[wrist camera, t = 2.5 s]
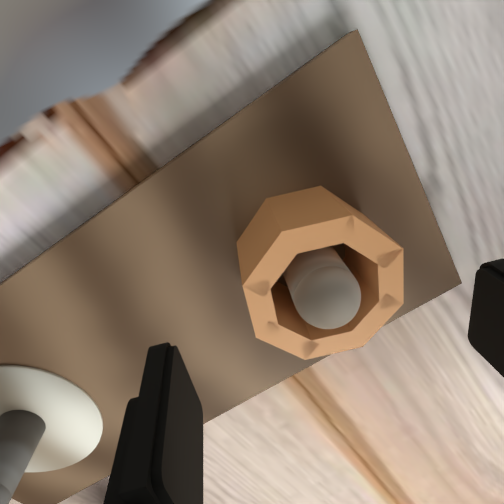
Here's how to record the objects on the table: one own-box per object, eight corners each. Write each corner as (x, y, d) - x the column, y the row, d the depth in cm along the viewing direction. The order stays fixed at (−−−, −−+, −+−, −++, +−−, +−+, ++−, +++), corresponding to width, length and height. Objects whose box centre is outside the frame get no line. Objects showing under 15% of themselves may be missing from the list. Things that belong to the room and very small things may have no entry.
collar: (359, 176, 15) (403, 203, 12) (366, 288, 18) (404, 337, 15) (227, 207, 15) (230, 243, 12) (254, 314, 18) (263, 369, 15)
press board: (348, 33, 14) (440, -5, 8) (450, 274, 20) (546, 349, 14) (-151, 391, 19) (-305, 519, 13) (46, 497, 25) (-3, 617, 19)
